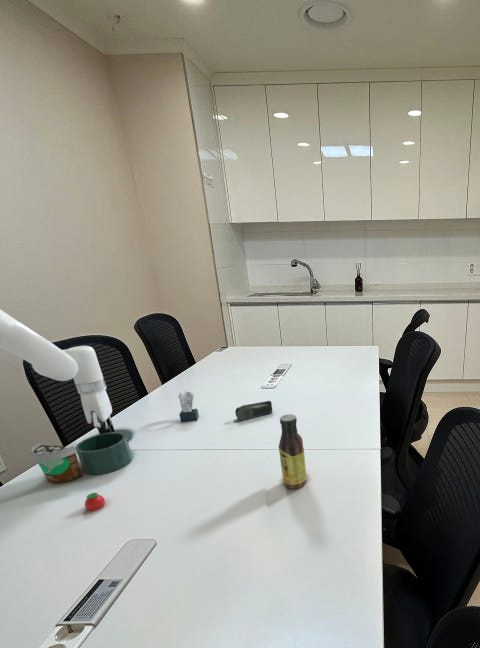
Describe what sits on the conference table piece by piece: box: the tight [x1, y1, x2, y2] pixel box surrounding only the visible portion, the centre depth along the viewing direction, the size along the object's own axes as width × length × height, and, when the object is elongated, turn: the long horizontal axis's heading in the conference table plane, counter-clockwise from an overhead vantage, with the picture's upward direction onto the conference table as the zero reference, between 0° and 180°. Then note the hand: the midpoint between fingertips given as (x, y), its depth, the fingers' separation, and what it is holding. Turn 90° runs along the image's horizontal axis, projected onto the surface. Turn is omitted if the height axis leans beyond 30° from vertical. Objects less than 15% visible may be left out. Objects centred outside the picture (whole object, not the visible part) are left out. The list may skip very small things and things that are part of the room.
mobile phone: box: [233, 400, 273, 422], centre depth 145 cm, size 5×3×15 cm
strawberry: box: [84, 492, 106, 512], centre depth 95 cm, size 4×4×4 cm
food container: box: [30, 441, 83, 485], centre depth 106 cm, size 12×6×10 cm, turn 76°
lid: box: [97, 425, 133, 442], centre depth 129 cm, size 13×13×6 cm
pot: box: [74, 432, 133, 476], centre depth 115 cm, size 12×12×8 cm
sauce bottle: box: [278, 413, 307, 489], centre depth 100 cm, size 7×6×20 cm
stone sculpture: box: [177, 390, 200, 423], centre depth 143 cm, size 6×8×11 cm
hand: (108, 437), depth 129 cm, fingers closed on lid, 2 cm apart
